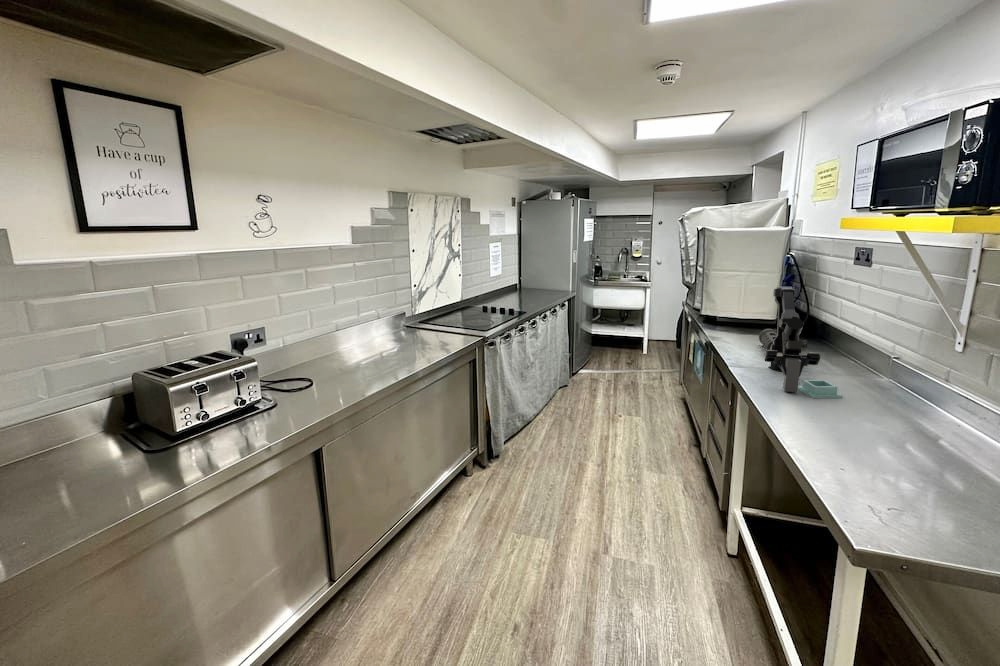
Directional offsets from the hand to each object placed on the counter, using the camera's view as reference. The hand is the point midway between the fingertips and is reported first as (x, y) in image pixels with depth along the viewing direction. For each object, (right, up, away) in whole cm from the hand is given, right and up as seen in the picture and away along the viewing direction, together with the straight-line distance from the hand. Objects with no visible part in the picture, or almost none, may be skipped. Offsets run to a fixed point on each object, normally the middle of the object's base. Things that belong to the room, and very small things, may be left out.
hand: (792, 375), depth 180 cm
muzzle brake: (+28, +7, +60) cm, 66 cm away
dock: (+11, -7, +1) cm, 13 cm away
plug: (+1, -6, +3) cm, 7 cm away
